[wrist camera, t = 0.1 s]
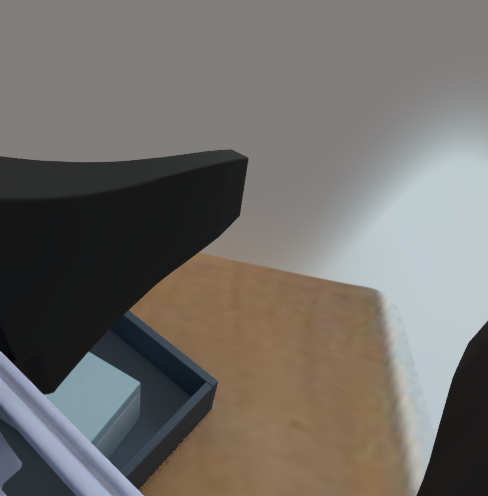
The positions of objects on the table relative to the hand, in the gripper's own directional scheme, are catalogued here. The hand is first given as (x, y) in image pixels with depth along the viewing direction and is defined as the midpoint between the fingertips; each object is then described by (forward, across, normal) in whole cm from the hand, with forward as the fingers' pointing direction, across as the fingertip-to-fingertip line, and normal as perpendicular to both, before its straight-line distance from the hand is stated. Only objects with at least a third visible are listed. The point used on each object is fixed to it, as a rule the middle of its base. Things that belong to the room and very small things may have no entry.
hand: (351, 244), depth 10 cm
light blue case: (-4, +12, +21) cm, 24 cm away
